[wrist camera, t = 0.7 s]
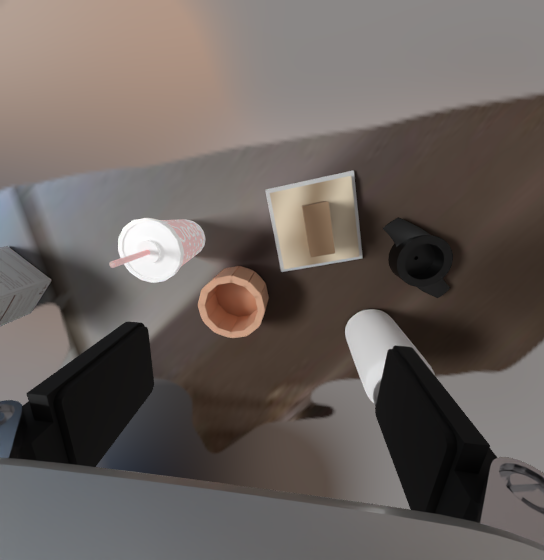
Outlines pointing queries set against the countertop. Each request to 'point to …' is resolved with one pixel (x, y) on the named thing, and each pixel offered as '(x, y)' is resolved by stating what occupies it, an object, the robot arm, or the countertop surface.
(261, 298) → the bowl
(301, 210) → the lid
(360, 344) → the can
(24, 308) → the supplement box
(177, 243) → the beverage cup
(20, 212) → the countertop surface
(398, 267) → the black winged knob
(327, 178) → the mat
